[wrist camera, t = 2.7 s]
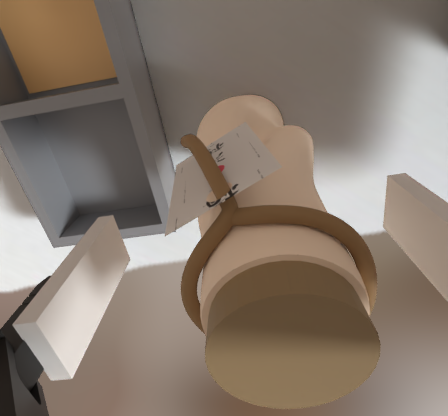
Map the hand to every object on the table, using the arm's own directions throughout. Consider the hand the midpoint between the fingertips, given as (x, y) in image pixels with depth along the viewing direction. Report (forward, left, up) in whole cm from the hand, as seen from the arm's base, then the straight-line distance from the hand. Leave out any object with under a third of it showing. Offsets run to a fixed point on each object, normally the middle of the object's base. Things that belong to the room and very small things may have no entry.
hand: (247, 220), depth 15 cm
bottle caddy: (+16, -6, -21) cm, 27 cm away
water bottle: (0, 0, -21) cm, 21 cm away
